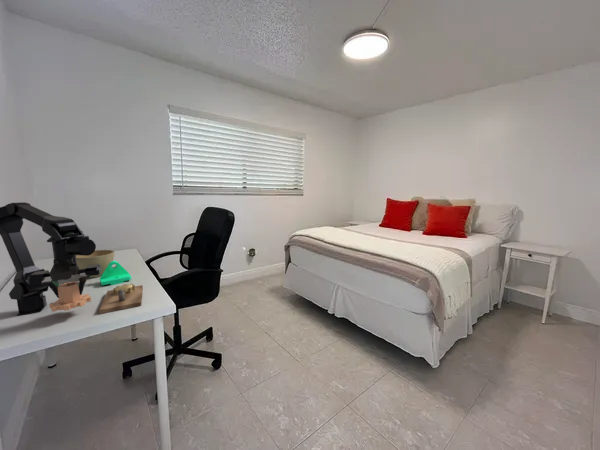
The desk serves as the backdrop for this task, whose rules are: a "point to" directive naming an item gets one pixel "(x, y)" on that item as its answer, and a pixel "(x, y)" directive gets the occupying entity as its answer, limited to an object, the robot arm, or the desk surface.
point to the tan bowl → (96, 260)
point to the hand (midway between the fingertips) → (70, 296)
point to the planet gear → (69, 297)
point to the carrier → (122, 298)
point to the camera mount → (114, 274)
